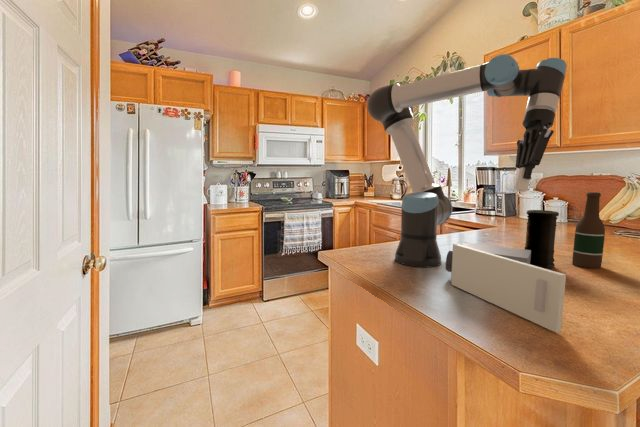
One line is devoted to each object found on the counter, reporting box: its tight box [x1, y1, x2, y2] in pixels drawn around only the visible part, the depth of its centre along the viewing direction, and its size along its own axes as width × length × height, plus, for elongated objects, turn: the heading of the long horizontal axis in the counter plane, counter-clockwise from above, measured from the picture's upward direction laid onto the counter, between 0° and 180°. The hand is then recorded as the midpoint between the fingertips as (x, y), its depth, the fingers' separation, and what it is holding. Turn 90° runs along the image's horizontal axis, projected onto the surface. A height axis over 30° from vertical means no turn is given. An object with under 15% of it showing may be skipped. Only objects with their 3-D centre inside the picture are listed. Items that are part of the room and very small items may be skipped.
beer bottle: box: [571, 191, 606, 270], centre depth 100 cm, size 8×8×24 cm
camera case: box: [445, 242, 531, 273], centre depth 83 cm, size 19×10×10 cm, turn 52°
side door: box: [450, 243, 567, 333], centre depth 70 cm, size 28×2×11 cm, turn 19°
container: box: [523, 209, 560, 270], centre depth 101 cm, size 9×9×18 cm
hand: (520, 190), depth 90 cm, fingers closed
